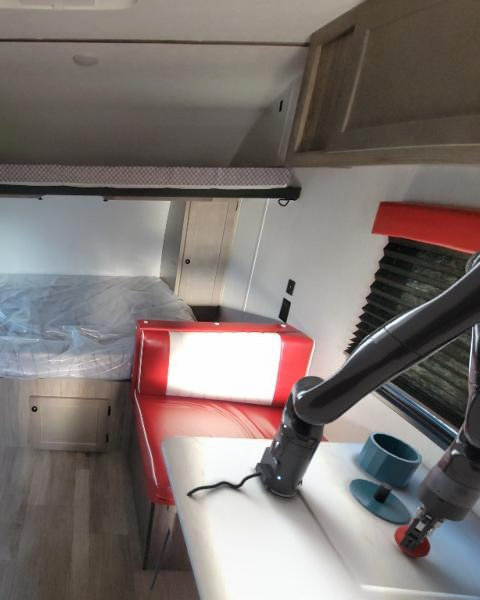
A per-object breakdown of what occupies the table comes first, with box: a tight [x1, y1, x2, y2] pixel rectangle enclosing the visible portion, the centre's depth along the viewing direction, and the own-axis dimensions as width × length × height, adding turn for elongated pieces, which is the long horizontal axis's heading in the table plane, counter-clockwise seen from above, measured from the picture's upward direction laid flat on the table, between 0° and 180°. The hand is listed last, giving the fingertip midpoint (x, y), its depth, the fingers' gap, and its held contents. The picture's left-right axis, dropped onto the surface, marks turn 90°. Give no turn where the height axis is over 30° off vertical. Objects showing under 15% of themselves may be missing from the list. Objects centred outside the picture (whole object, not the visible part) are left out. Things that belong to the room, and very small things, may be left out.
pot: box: [356, 431, 423, 488], centre depth 99 cm, size 12×12×10 cm
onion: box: [393, 525, 431, 559], centre depth 77 cm, size 6×6×8 cm
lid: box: [349, 478, 410, 525], centre depth 89 cm, size 13×13×6 cm
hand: (411, 541), depth 77 cm, fingers closed on onion, 6 cm apart
